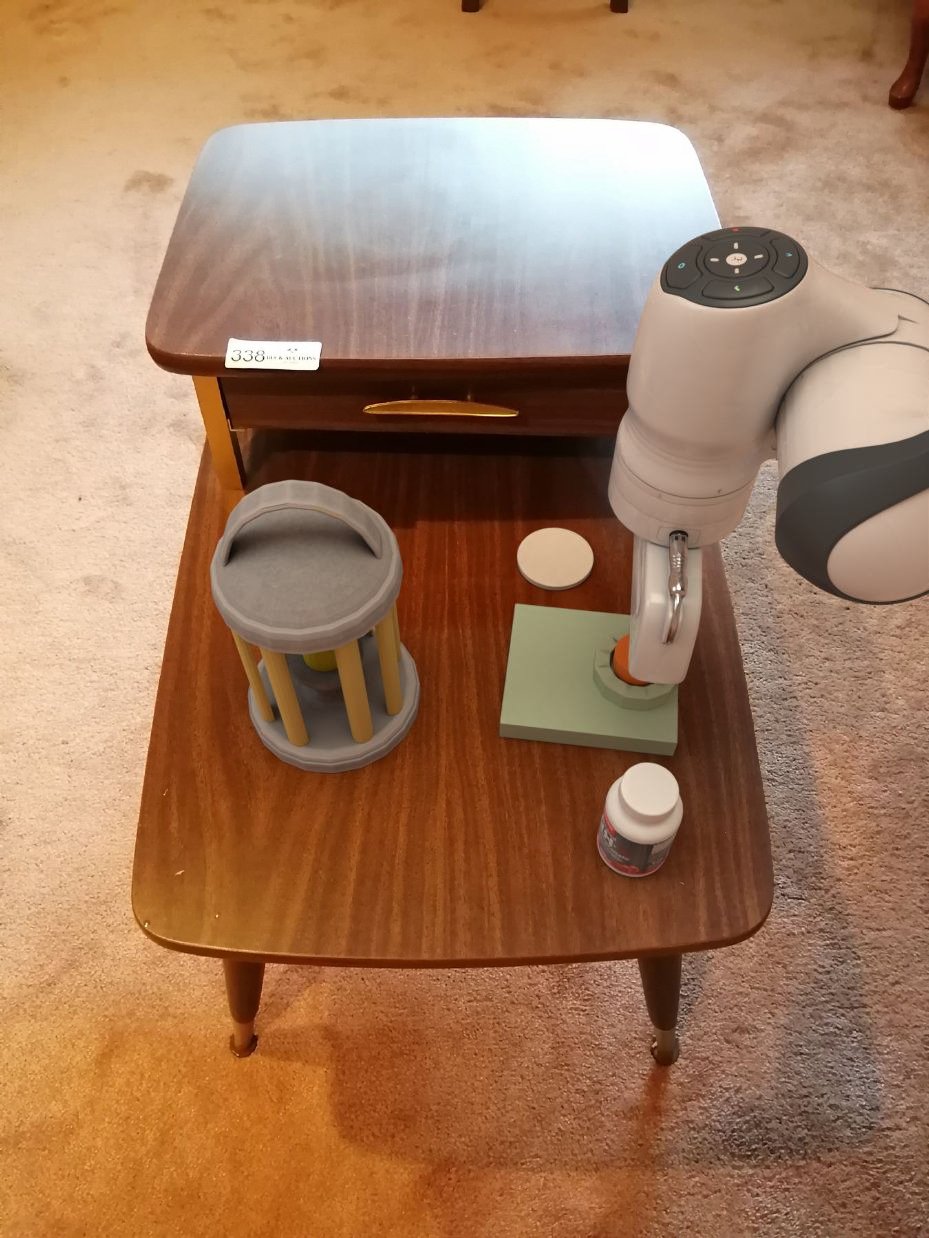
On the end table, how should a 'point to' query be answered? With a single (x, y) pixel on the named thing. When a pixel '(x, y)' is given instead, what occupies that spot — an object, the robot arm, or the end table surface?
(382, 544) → the lantern
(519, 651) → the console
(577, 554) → the coaster
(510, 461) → the end table surface
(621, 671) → the press button
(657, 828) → the pill bottle
